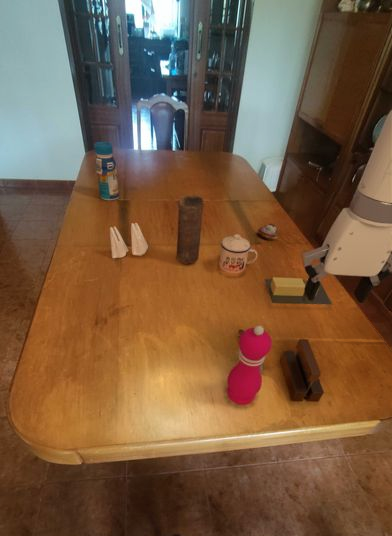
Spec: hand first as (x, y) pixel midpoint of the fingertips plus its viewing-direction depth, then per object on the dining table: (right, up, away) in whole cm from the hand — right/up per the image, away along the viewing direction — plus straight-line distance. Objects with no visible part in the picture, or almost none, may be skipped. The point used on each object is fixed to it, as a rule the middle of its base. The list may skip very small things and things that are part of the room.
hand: (333, 297), depth 60 cm
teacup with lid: (-13, +16, +44) cm, 49 cm away
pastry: (+1, +34, +62) cm, 70 cm away
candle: (-29, +20, +46) cm, 58 cm away
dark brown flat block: (-2, -17, +13) cm, 22 cm away
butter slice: (+8, +8, +36) cm, 38 cm away
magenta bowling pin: (-13, -10, +19) cm, 25 cm away
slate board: (+4, +7, +36) cm, 37 cm away
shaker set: (-48, +21, +46) cm, 70 cm away
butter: (+1, +8, +35) cm, 36 cm away
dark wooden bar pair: (-2, -17, +13) cm, 22 cm away
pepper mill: (-16, -20, +10) cm, 27 cm away
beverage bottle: (-64, +56, +77) cm, 115 cm away
